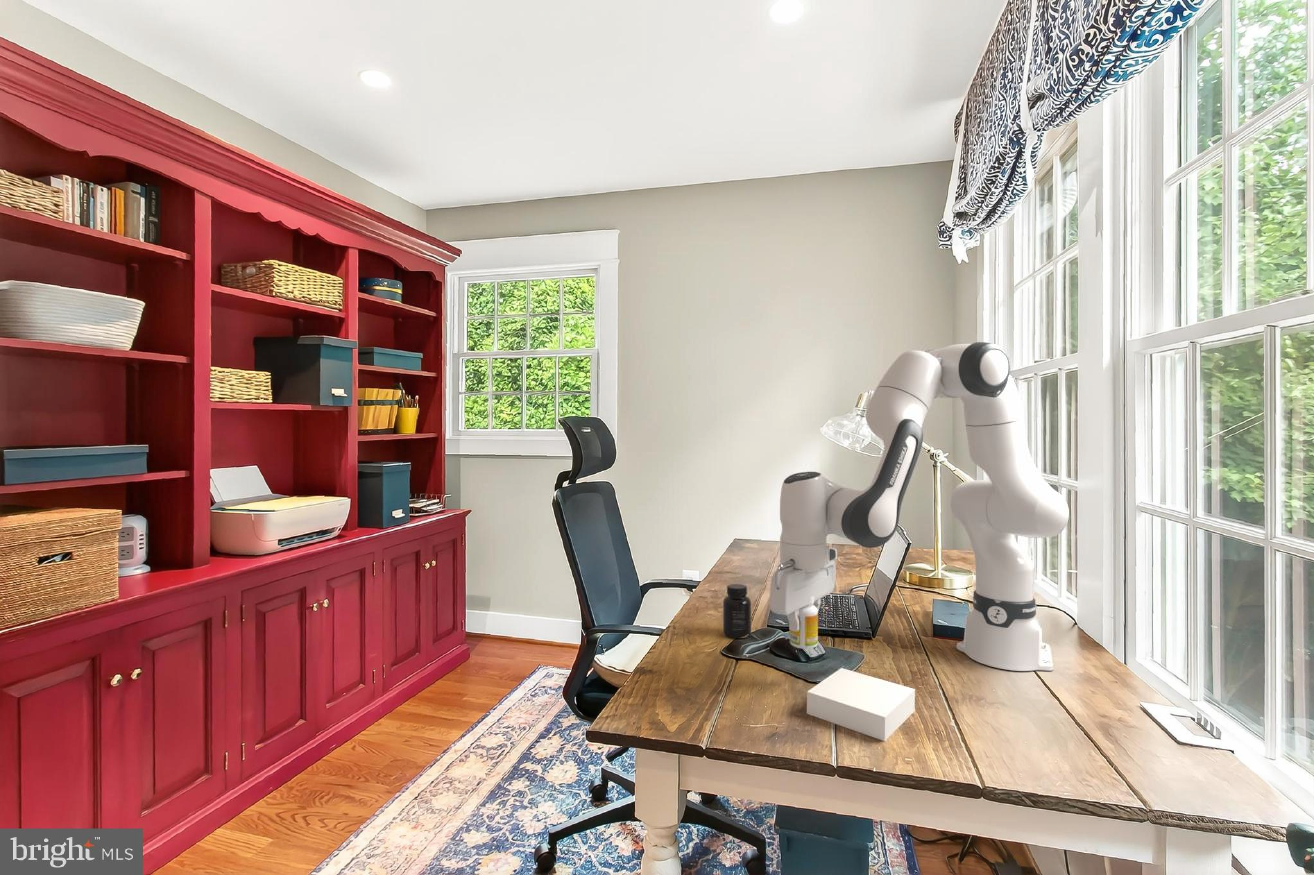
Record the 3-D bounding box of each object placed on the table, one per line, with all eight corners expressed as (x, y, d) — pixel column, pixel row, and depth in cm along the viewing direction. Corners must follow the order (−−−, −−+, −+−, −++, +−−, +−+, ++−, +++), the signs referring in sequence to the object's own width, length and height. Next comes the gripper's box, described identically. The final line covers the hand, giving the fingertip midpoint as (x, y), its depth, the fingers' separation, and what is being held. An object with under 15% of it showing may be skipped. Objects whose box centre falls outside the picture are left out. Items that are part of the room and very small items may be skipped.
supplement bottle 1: (755, 633, 150) (755, 585, 149) (744, 641, 144) (744, 591, 144) (730, 628, 153) (730, 581, 153) (718, 636, 148) (718, 587, 147)
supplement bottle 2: (818, 640, 121) (818, 592, 121) (816, 650, 116) (816, 600, 116) (791, 638, 123) (791, 590, 123) (788, 647, 118) (787, 597, 117)
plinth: (841, 688, 119) (841, 667, 119) (914, 710, 110) (915, 689, 110) (806, 713, 109) (807, 691, 109) (884, 741, 99) (885, 717, 99)
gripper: (791, 568, 109) (791, 644, 109) (841, 548, 124) (841, 615, 125) (760, 563, 113) (761, 636, 114) (812, 544, 128) (813, 609, 129)
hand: (803, 625), depth 119 cm, fingers closed on supplement bottle 2, 5 cm apart
